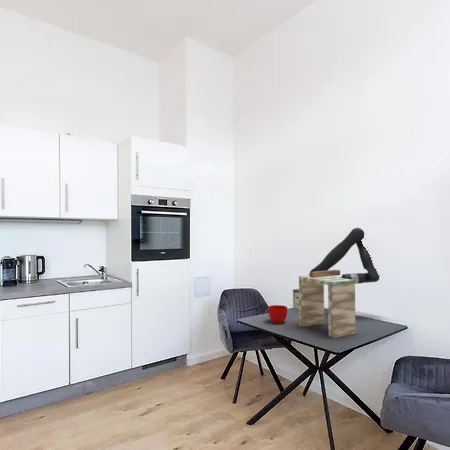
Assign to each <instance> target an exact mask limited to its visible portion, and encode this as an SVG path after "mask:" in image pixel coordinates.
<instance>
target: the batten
mask: <svg viewBox="0 0 450 450" xmlns="http://www.w3.org/2000/svg"><path fill="white" fill-rule="evenodd" d="M309 273H310V277H312V278H317V277H327V276H332V277H338V276H340V275H341V269H340V270H339V269H329V270H327V271H316V272H310V271H309Z"/></svg>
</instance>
